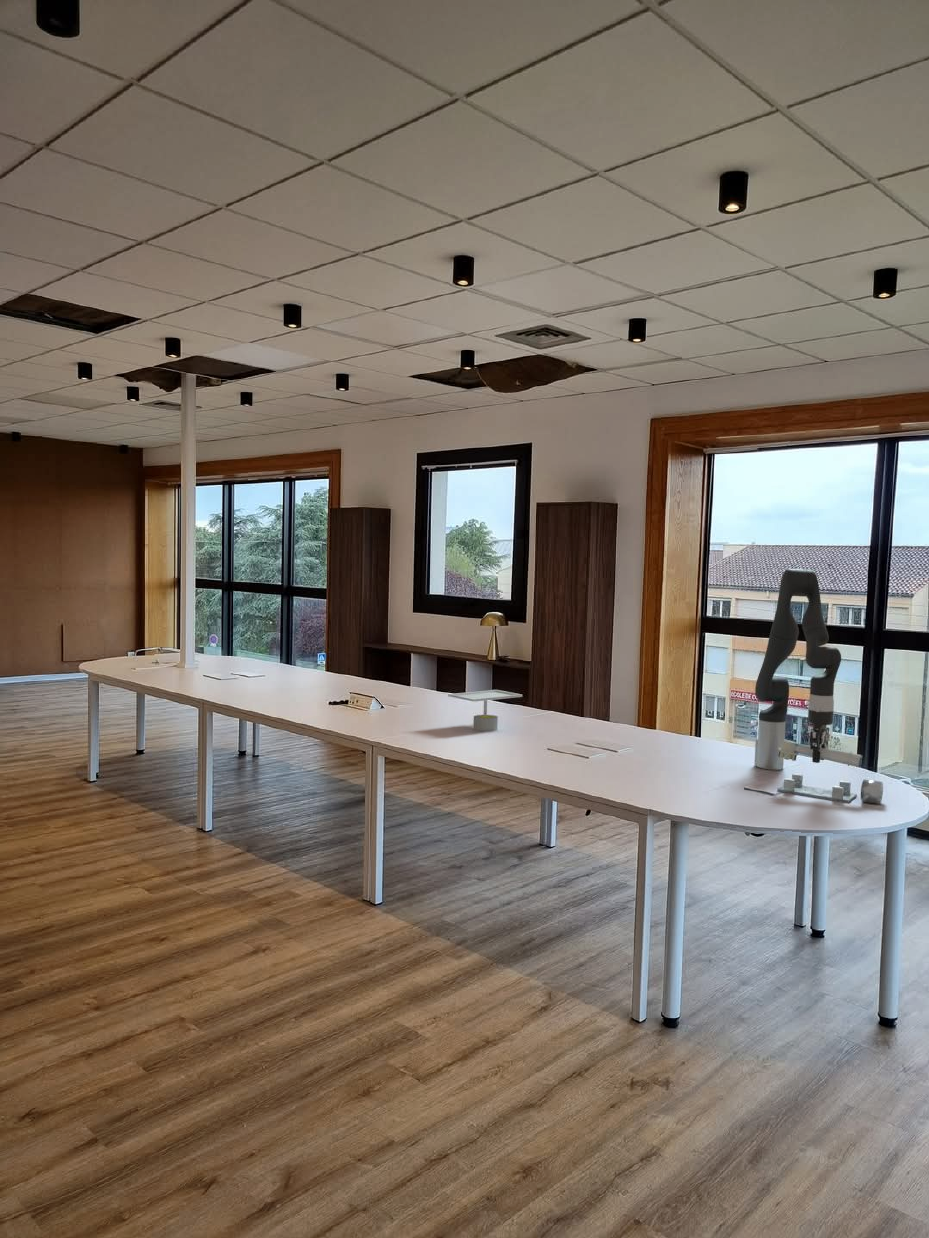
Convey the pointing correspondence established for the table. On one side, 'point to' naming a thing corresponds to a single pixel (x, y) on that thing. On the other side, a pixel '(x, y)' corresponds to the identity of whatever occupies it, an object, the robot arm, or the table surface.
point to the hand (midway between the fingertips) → (818, 760)
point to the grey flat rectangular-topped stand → (485, 707)
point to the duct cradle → (834, 790)
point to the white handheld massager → (793, 749)
